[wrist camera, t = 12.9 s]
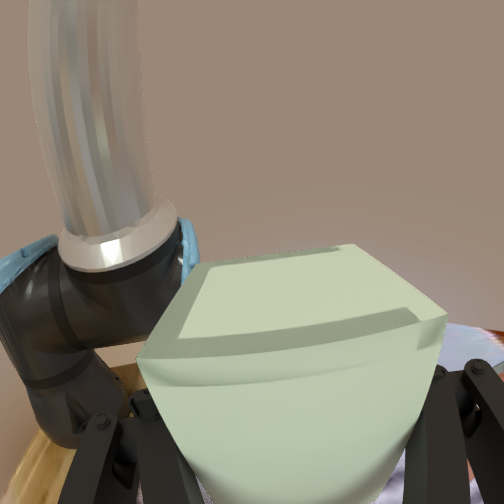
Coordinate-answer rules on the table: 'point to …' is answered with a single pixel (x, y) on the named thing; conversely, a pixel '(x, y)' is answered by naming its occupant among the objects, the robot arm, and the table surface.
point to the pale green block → (293, 374)
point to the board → (499, 368)
